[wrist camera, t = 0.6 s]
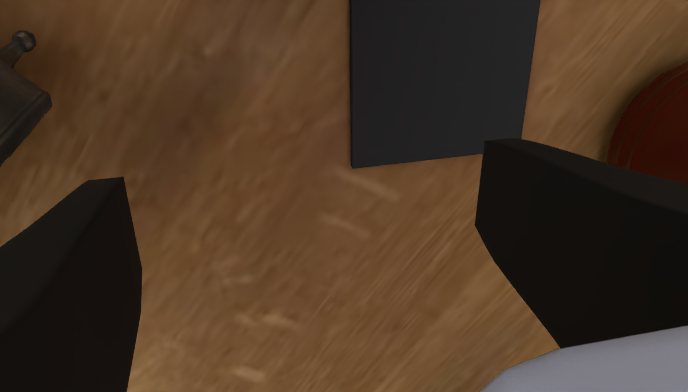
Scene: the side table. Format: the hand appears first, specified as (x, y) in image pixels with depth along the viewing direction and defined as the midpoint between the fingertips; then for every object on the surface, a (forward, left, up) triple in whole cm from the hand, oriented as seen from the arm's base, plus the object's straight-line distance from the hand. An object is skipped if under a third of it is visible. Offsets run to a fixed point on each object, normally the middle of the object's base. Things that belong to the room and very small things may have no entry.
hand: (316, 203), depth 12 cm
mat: (0, -7, -10) cm, 12 cm away
